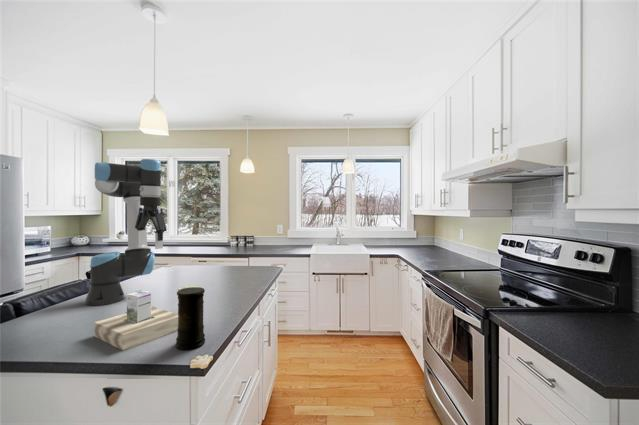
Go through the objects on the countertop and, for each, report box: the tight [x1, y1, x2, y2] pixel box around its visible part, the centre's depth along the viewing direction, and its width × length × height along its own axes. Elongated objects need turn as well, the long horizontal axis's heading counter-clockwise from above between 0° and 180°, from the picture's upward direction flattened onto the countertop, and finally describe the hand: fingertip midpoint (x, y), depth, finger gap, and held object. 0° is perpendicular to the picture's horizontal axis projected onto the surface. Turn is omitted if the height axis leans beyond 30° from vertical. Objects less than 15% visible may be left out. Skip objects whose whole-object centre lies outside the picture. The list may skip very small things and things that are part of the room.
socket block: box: [93, 306, 178, 351], centre depth 105 cm, size 20×20×5 cm
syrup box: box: [126, 290, 152, 324], centre depth 105 cm, size 6×6×14 cm
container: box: [175, 287, 206, 351], centre depth 96 cm, size 9×9×18 cm
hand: (150, 247), depth 122 cm, fingers open, 13 cm apart
